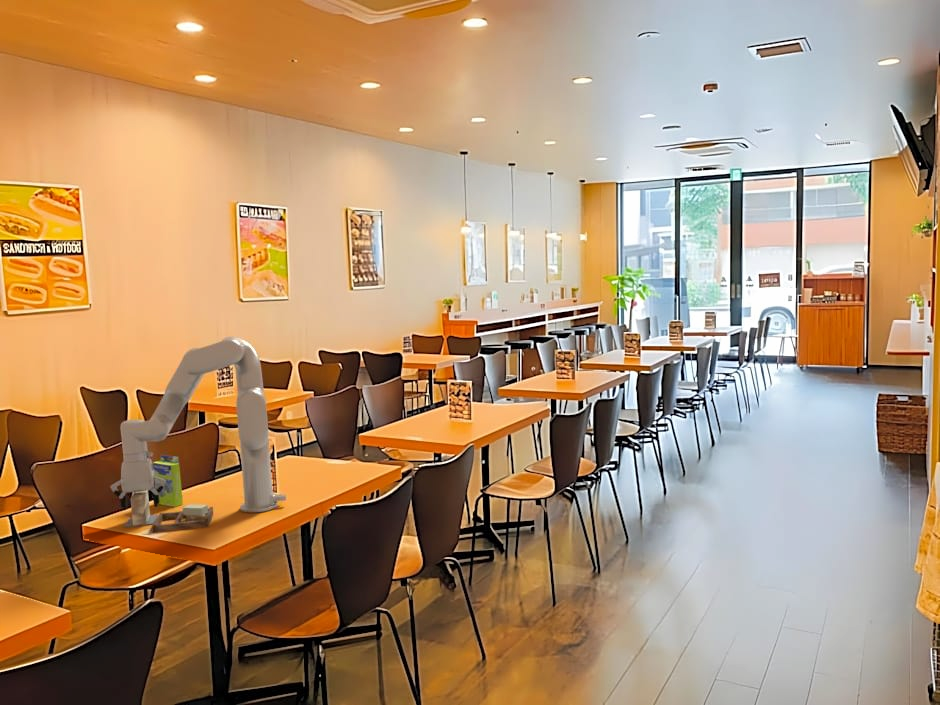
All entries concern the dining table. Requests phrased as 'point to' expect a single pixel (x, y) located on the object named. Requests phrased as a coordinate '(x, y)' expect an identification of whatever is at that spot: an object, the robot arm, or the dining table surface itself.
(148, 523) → the mat
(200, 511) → the offcut top
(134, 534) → the dining table surface
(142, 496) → the beige rectangular block
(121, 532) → the dining table surface
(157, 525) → the rack
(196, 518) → the offcut low
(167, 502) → the box
